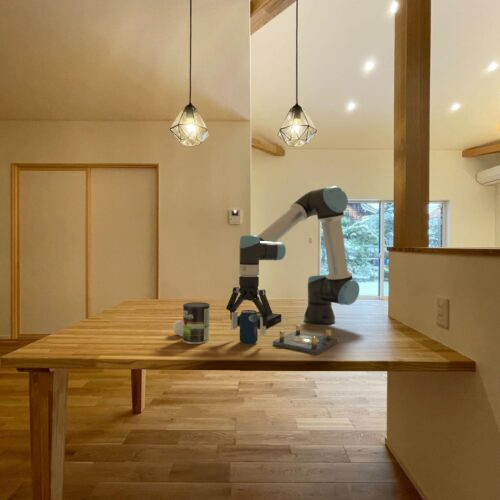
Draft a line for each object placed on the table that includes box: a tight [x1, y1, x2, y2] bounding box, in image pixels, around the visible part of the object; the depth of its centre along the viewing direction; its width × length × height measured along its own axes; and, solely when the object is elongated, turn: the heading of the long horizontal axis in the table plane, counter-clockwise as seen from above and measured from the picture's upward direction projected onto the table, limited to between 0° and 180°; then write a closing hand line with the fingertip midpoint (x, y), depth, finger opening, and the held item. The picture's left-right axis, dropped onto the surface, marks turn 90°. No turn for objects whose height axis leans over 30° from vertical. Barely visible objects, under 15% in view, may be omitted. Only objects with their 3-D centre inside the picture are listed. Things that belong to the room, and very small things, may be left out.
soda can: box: [239, 309, 259, 346], centre depth 121 cm, size 7×7×12 cm
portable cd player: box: [237, 311, 282, 329], centre depth 155 cm, size 16×17×4 cm
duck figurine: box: [172, 311, 183, 337], centre depth 133 cm, size 12×8×11 cm
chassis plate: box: [272, 324, 338, 355], centre depth 120 cm, size 18×18×5 cm
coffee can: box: [182, 301, 211, 345], centre depth 124 cm, size 10×10×14 cm
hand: (248, 331), depth 121 cm, fingers open, 13 cm apart
